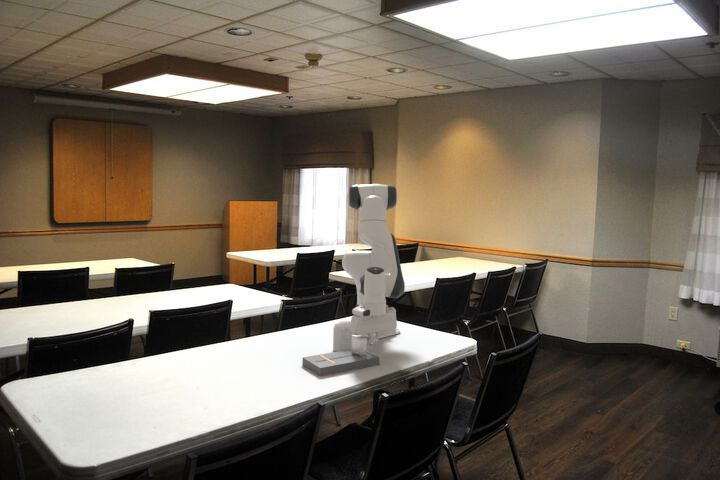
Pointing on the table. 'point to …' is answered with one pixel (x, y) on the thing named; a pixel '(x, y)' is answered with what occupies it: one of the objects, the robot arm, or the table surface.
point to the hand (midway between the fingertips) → (373, 343)
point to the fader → (359, 344)
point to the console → (339, 362)
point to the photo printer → (342, 336)
